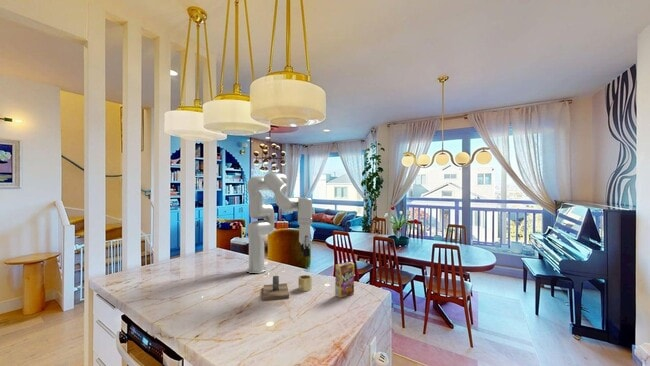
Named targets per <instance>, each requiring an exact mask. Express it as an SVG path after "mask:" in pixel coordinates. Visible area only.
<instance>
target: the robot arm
mask: <svg viewBox="0 0 650 366" xmlns="http://www.w3.org/2000/svg"><path fill="white" fill-rule="evenodd" d="M246 185H247V186H246V189H247V193H248V202H249V204H248V205H249V216H250V219H253V220H254V221H251V222H249V223H248V225H247V227H246V229H247V236H248V268H246V270H245V272H246V271H247V272H249V273H259V274H262V273H261V272H263V273H265V272H267V271H268V268H267V267H265V241H264V239H263V238H262V236H266V235H267V236H268V235H271V234H273V232H274V230H275V210H274V206H273V205H272V204H270V203H264V201H263V200H264V197H263V194H262V193H261V191H271V192H272V193H273V194H274V201H275V204H276V205H277V207H278V208H279V209H281V210H282V211H283V212H297V225H299V227H298V228H299V229H298V231H299V232H298V242H299V243H300V253H303V257H304V258H305V257H306V258H307V257H308V258H309V257H310V256H311V247H310V245H311V225H313V199H312V198H311V197H301V196H297V197H296V196H295V197H294V196H289V197H287V196H286V193H287V192H288V188H289V187H288V179H287V175H285V174H284V173H282V172H268V173H266V174H265V175H264V176H253V177H250V178H249V179H248V180H247V184H246ZM258 219H263V220H258ZM264 271H265V272H264ZM247 272H246V273H247ZM249 273H248V274H249Z"/></svg>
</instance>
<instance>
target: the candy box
mask: <svg viewBox="0 0 650 366" xmlns="http://www.w3.org/2000/svg"><path fill="white" fill-rule="evenodd" d="M334 283H335V287H334V295H335V297H337V298H339V299H341V298H344V297H348V296H351V295H354V294H355V263H354V262H351V261H347V262H341V263H336V264H335V282H334Z"/></svg>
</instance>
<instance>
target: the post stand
mask: <svg viewBox="0 0 650 366" xmlns="http://www.w3.org/2000/svg"><path fill="white" fill-rule="evenodd" d="M262 292H263V294H262V301H271V300H272V301H273V300H284V299H290V294H289V288H288V283H286V282H285V283H283V282H282V283H280V276H279V275H273V276H272V283H271V284H264V285H263V291H262Z"/></svg>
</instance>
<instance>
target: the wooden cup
mask: <svg viewBox="0 0 650 366" xmlns="http://www.w3.org/2000/svg"><path fill="white" fill-rule="evenodd" d="M297 278H298V284H297V285H298V291H300V292H308V291H311V290H312V278H313V277H312V276H311V275H309V274H303V275H298V277H297Z"/></svg>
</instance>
